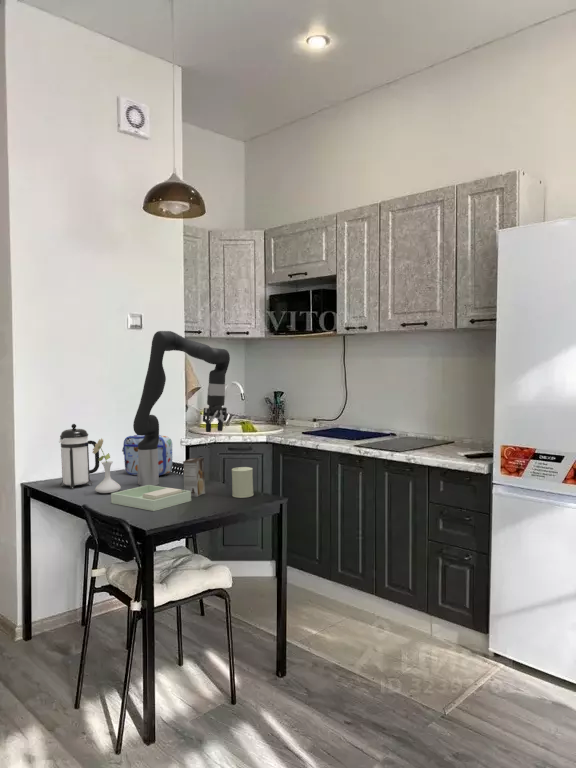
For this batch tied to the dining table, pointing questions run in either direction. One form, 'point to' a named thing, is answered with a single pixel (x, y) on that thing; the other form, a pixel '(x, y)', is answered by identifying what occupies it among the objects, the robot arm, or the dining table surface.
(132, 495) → the tray
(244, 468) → the can
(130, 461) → the lunch box
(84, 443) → the coffee press
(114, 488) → the flower in vase
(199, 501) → the dining table surface
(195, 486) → the coffee box
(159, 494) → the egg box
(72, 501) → the dining table surface
